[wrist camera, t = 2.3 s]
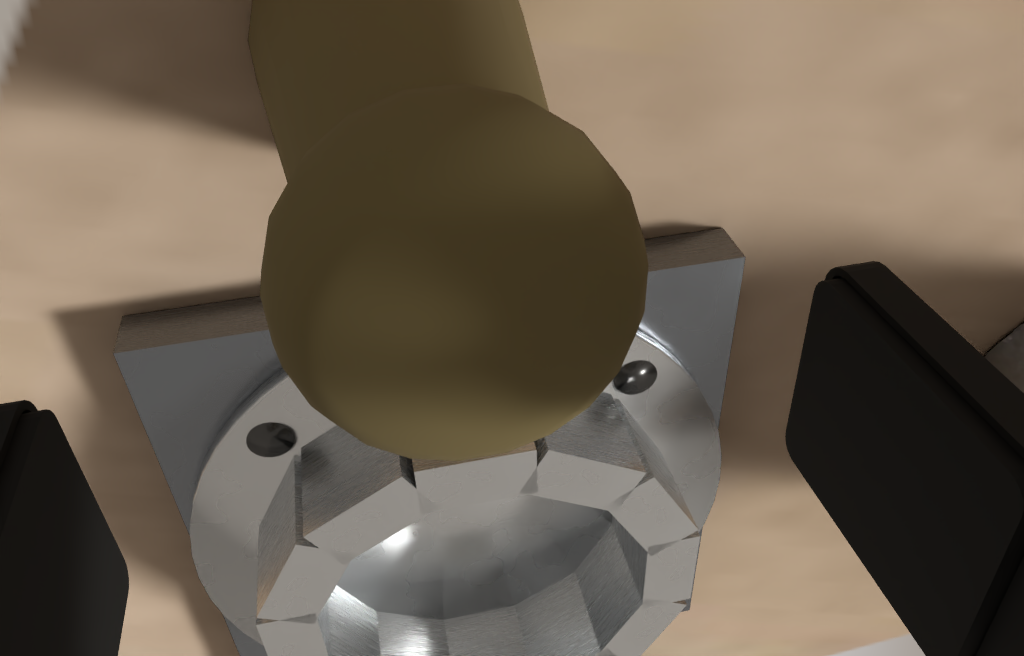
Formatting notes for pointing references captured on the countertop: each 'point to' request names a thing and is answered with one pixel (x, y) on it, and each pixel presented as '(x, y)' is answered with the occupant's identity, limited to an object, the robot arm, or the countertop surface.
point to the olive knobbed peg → (437, 228)
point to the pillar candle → (1010, 357)
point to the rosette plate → (444, 490)
